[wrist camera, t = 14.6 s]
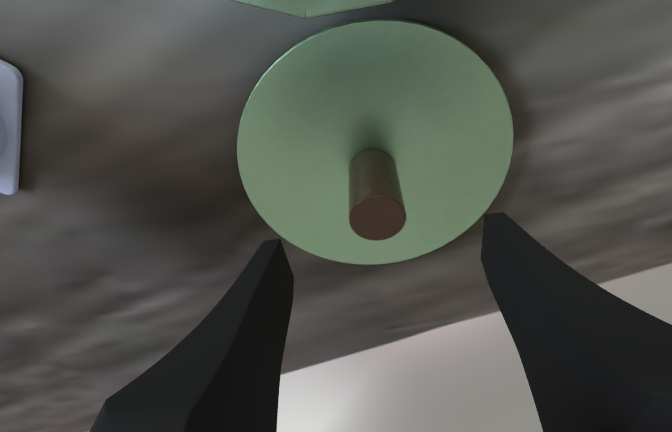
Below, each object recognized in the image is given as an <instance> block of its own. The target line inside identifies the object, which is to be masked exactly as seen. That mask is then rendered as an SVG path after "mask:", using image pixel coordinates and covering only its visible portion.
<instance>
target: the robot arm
mask: <svg viewBox="0 0 672 432" xmlns="http://www.w3.org/2000/svg"><path fill="white" fill-rule="evenodd" d="M22 97H23V76H22V74H21V73H20V71H19V70H18V69H17V68H16V67H14V66H13V65H11V64H9V63H7V62H4V61H2V60H0V193H3V194H6V195H12V194H14V193H15V192H17V191H18V189H19V166H20V143H21V120H22ZM481 260H482V264H483V267H484V271H485V274H486V277H487V280H488V284H489V286H490V288H491V291H492V293H493V295H494V297H495V300H496V302H497V304H498V306H499V309H500V311H501V313H502V315H503V317H504V320H505V322H506V324H507V326H508V329H509V331H510V333H511V335H512V337H513V340H514V342H515V345H516V347H517V350H518V352H519V355H520V358H521V361H522V364H523V367H524V370H525V373H526V376H527V379H528V382H529V386H530V389H531V392H532V395H533V398H534V402H535V405H536V408H537V411H538V415H539V418H540V422H541V425H542V429H543V432H672V325H671V324H668V323H666V322H664V321H662V320H660V319H658V318H656V317H654V316H652V315H650V314H648V313H646V312H644V311H642V310H640V309H638V308H637V307H635V306H633V305H631V304H629V303H627V302H625V301H623V300H622V299H620V298H618V297H616V296H615V295H613V294H611V293H609V292H608V291H606V290H604V289H602V288H601V287H599V286H598V285H596V284H595V283H593V282H592V281H590V280H588V279H587V278H585V277H584V276H582V275H581V274H579V273H578V272H576V271H575V270H574V269H572V268H571V267H569V266H568V265H567V264H565V263H564V262H562V261H561V260H560V259H558V258H557V257H556V256H555V255H553V254H552V253H551V252H550V251H548V250H547V249H546V248H545V247H543V246H542V245H541V244H540V243H538V242H537V241H536V240H535V239H534V238H532V237H531V236H530V235H529V234H528V233H527V232H525V231H524V230H523V229H522V228H521V227H520V226H518V225H517V224H516V223H515V222H514V221H513V220H512V219H511V218H509V217H508V216H507V215H506V214H505V213H495V214H486V215H485V216H484V227H483V238H482V249H481ZM293 286H294V276H293V273H292V271H291V268H290V265H289V262H288V259H287V257H286V254H285V251H284V248H283V246H282V243H281V240H280V239H275V240H267V241H264V242H263V243H262V244H261V246H260V247H259V249H258V250H257V251H256V253H255V254H254V256H253V257H252V259H251V260H250V262H249V263H248V264H247V266H246V267H245V269H244V270H243V272H242V273H241V274H240V276H239V277H238V278H237V280H236V281H235V282H234V284H233V285H232V286H231V288H230V289H229V290H228V292H227V293H226V294H225V295H224V296H223V298H222V299H221V300H220V301H219V303H218V304H217V305H216V306H215V307H214V309H213V310H212V311H211V312H210V313H209V314H208V315H207V316H206V317H205V318H204V320H203V321H202V322H201V323H200V324H199V325H198V326H197V327H196V328H195V329H194V330H193V331H192V332H191V333H190V334H188V335H187V336H186V337H185V338H184V339H183V340H182V341H181V342H180V343H179V344H178V345H177V346H176V347H174V348H173V349H172V350H171V351H170V352H169V353H168V354H166V355H165V356H164V357H163V358H162V359H160V360H159V361H158V362H157V363H155V364H154V365H153V366H152V367H150V368H149V369H148V370H147V371H145V372H144V373H143V374H141V375H140V376H139V377H137V378H136V379H135V380H133V381H132V382H130V383H129V384H128V385H126V386H125V387H123V388H122V389H121V390H119V391H118V392H116V393H115V394H114V395H112V396H111V397H109V398H108V399H106V401H105V403H104V404H103V406H102V408H101V410H100V412H99V414H98V416H97V418H96V420H95V422H94V424H93V426H92V428H91V430H90V432H276V430H277V412H278V396H279V383H280V372H281V364H282V357H283V352H284V346H285V341H286V336H287V330H288V325H289V320H290V314H291V308H292V303H293Z"/></svg>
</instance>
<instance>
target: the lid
mask: <svg viewBox="0 0 672 432" xmlns="http://www.w3.org/2000/svg"><path fill="white" fill-rule="evenodd" d="M513 139H514V130H513V120H512V114H511V110H510V107H509V103H508V99H507V97H506V95H505V93H504V91H503V88H502V86H501V84H500V82H499V81H498V79H497V78H496V76H495V75H494V73H493V72H492V70H491V69H490V67H489V66H488V65H487V64H486V63H485V62H484V61H483V60H482V59H481V58H480V57H479V56H478V55H477V54H476V53H475V52H474V51H473V50H472V49H470V48H469V47H468V46H466V45H465V44H464V43H462V42H461V41H460V40H458V39H457V38H455V37H453V36H451V35H449V34H448V33H446V32H444V31H442V30H440V29H437V28H435V27H432V26H429V25H426V24H423V23H420V22H415V21H410V20H404V19H399V18H367V19H358V20H351V21H348V22H344V23H340V24H336V25H332V26H330V27H327V28H325V29H323V30H320V31H318V32H316V33H313V34H311V35H309V36H308V37H306V38H304V39H303V40H301V41H299V42H298V43H296V44H294V45H293V46H292V47H290V48H289V49H288V50H287V51H286V52H284V53H283V54H282V55H281V56H279V57H278V58H277V59H276V60H275V61H274V62H273V64H272V65H271V66H270V67H269V68H268V69H267V70H266V71H265V72H264V74H263V75H262V77H261V78H260V80H259V81H258V83H257V84H256V86H255V87H254V89H253V90H252V92H251V94H250V96H249V98H248V101H247V103H246V105H245V107H244V110H243V113H242V116H241V120H240V123H239V128H238V136H237V161H238V167H239V173H240V176H241V180H242V183H243V186H244V189H245V191H246V193H247V195H248V197H249V199H250V201H251V203H252V204H253V206H254V207H255V209H256V210H257V212H258V213H259V215H260V216H261V217H262V218H263V219H264V221H265V222H266V223H267V224H268V225H269V226H270V227H271V228H272V229H273V230H274V231H275V232H277V233H278V234H279V235H280V236H282V237H283V238H284V239H286V240H287V241H288V242H290V243H292V244H293V245H295V246H297V247H299V248H300V249H302V250H305V251H307V252H309V253H311V254H314V255H316V256H319V257H322V258H325V259H329V260H333V261H338V262H342V263H350V264H364V265H374V264H387V263H393V262H400V261H404V260H408V259H412V258H415V257H418V256H421V255H424V254H427V253H429V252H431V251H433V250H435V249H438V248H440V247H442V246H443V245H445V244H447V243H449V242H450V241H452V240H454V239H455V238H456V237H458V236H459V235H461V234H462V233H463V232H465V231H466V230H467V229H468V228H469V227H471V226H472V225H473V224H474V223H475V222H476V221H477V220H478V219H479V218H480V217H481V216H482V215H483V213H484V212H485V211H486V210H487V209H488V207H489V206H490V205H491V203H492V202H493V200H494V199H495V197H496V196H497V194H498V192H499V190H500V188H501V186H502V185H503V183H504V180H505V177H506V175H507V172H508V169H509V166H510V162H511V157H512V152H513Z"/></svg>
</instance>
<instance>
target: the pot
mask: <svg viewBox="0 0 672 432" xmlns="http://www.w3.org/2000/svg"><path fill="white" fill-rule="evenodd" d="M232 1H236V2H240V3H244V4H248V5H252V6H256V7H260V8H264V9H268V10H272V11H276V12H280V13H284V14H288V15H292V16H296V17H299V18H303V19H305V18H314V17H319V16H324V15H329V14H334V13H339V12H345V11H350V10H355V9H360V8H365V7H371V6H376V5H381V4H386V3H391V2H393V0H232ZM394 1H396V0H394Z"/></svg>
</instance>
